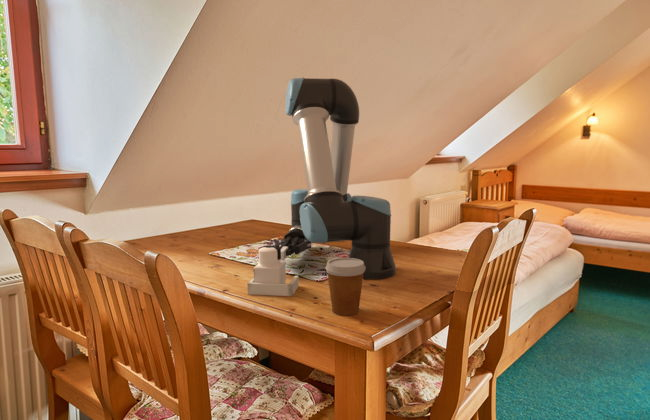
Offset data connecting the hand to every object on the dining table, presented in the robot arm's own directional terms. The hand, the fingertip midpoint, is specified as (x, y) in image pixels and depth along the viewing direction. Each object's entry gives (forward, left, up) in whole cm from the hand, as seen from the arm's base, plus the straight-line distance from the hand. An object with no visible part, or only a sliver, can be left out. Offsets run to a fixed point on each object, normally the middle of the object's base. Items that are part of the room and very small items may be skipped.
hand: (281, 256), depth 142 cm
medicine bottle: (0, +11, -7) cm, 13 cm away
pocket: (-1, +12, -7) cm, 13 cm away
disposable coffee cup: (-22, +24, -7) cm, 33 cm away
